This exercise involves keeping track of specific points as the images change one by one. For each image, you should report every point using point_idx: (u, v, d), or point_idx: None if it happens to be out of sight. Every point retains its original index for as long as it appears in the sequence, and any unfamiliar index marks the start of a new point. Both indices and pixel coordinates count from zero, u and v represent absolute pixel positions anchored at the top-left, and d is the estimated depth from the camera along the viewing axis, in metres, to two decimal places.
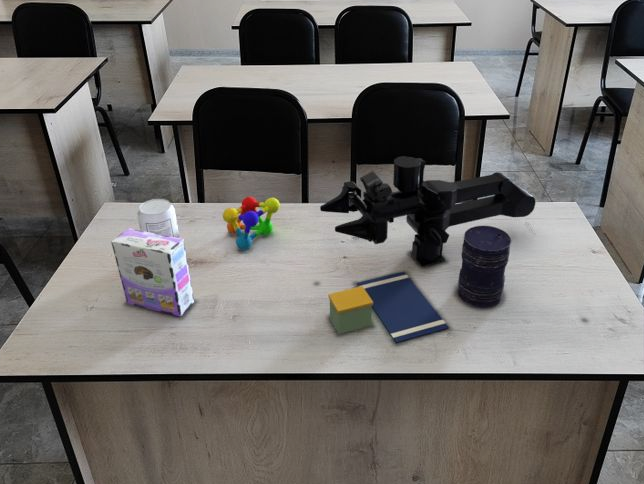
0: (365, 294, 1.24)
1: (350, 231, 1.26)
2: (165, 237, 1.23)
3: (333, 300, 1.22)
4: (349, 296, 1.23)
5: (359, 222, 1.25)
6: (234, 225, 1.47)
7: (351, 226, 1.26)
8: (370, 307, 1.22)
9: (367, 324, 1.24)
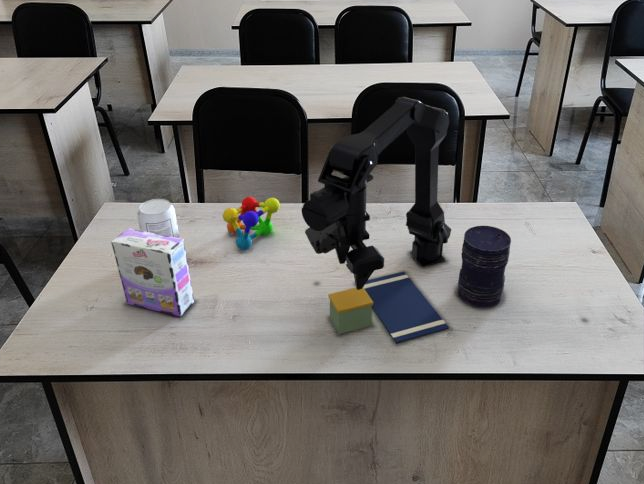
0: (365, 294, 1.24)
1: (364, 278, 1.14)
2: (165, 237, 1.23)
3: (333, 300, 1.22)
4: (349, 296, 1.23)
5: (355, 274, 1.12)
6: (234, 225, 1.47)
7: (359, 278, 1.13)
8: (370, 307, 1.22)
9: (367, 324, 1.24)
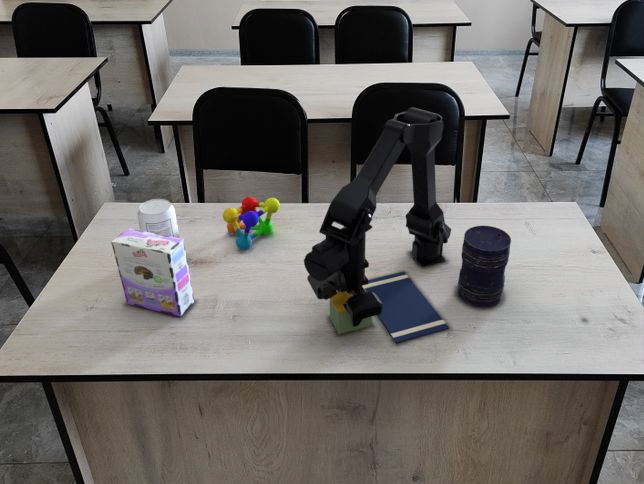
0: None
1: None
2: (165, 237, 1.23)
3: (333, 300, 1.22)
4: (349, 296, 1.23)
5: None
6: (234, 225, 1.47)
7: None
8: None
9: (367, 324, 1.24)
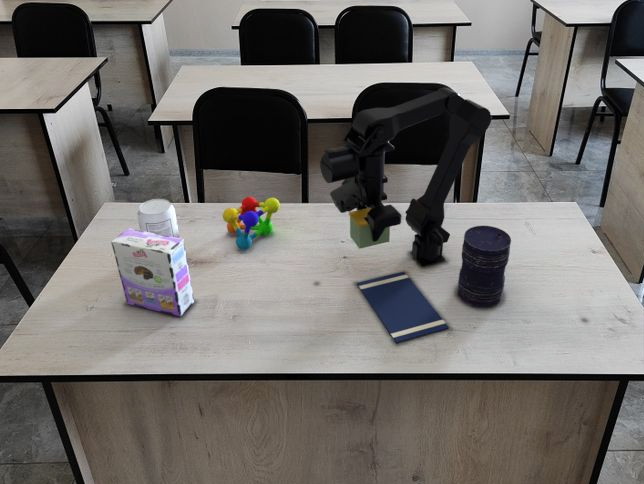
0: None
1: (380, 231, 1.29)
2: (165, 237, 1.23)
3: (354, 216, 1.30)
4: None
5: (372, 226, 1.27)
6: (234, 225, 1.47)
7: (375, 231, 1.29)
8: None
9: (385, 240, 1.33)
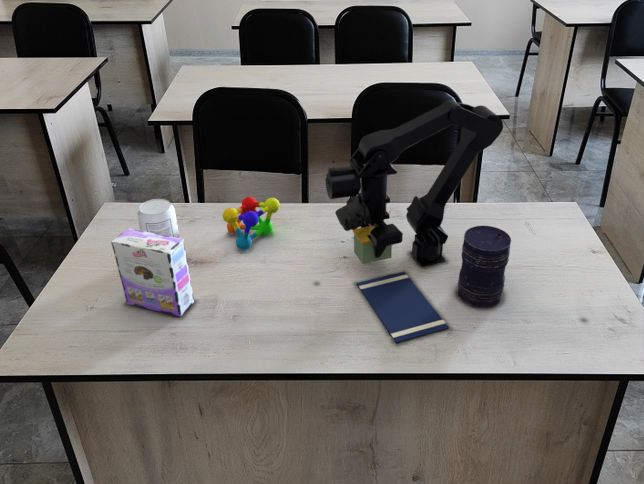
0: None
1: (382, 248, 1.36)
2: (165, 237, 1.23)
3: (357, 234, 1.37)
4: None
5: (375, 244, 1.34)
6: (234, 225, 1.47)
7: (377, 248, 1.36)
8: None
9: (387, 256, 1.39)
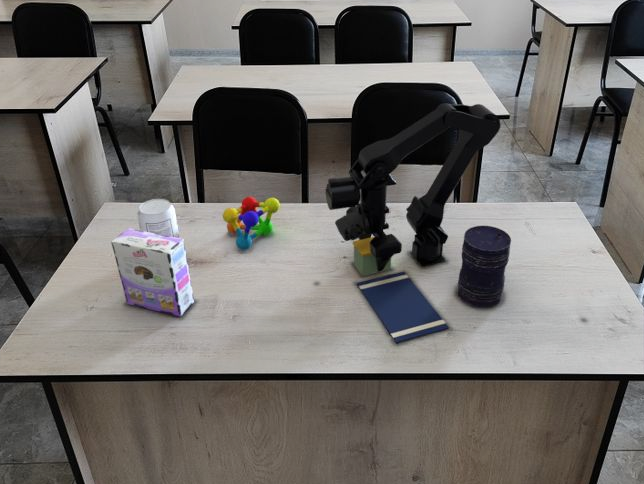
0: None
1: (384, 262, 1.36)
2: (165, 237, 1.23)
3: (357, 246, 1.39)
4: None
5: (377, 258, 1.34)
6: (234, 225, 1.47)
7: (380, 262, 1.36)
8: None
9: (387, 268, 1.41)
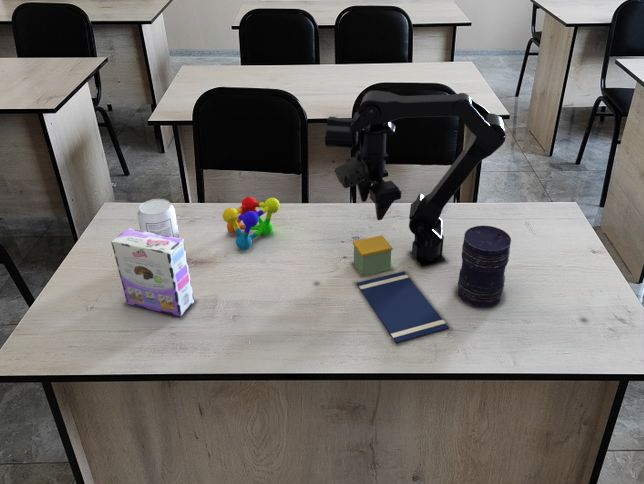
0: (385, 241, 1.40)
1: (384, 210, 1.36)
2: (165, 237, 1.23)
3: (357, 246, 1.39)
4: (371, 243, 1.40)
5: (377, 205, 1.34)
6: (234, 225, 1.47)
7: (379, 209, 1.35)
8: (390, 252, 1.39)
9: (387, 268, 1.41)
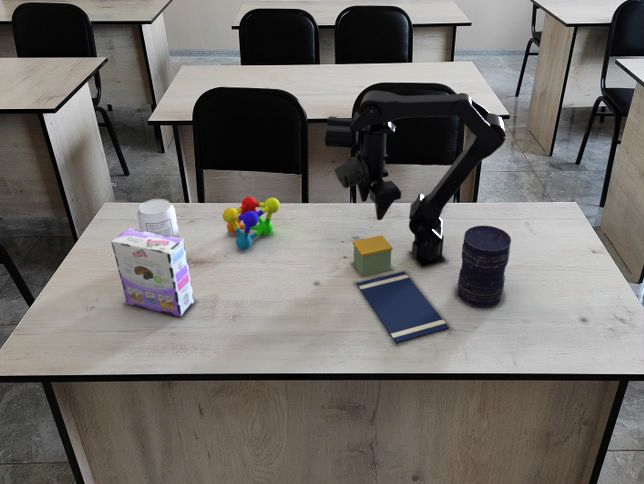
0: (385, 241, 1.40)
1: (384, 210, 1.36)
2: (165, 237, 1.23)
3: (357, 246, 1.39)
4: (371, 243, 1.40)
5: (377, 205, 1.34)
6: (234, 225, 1.47)
7: (379, 209, 1.35)
8: (390, 252, 1.39)
9: (387, 268, 1.41)
